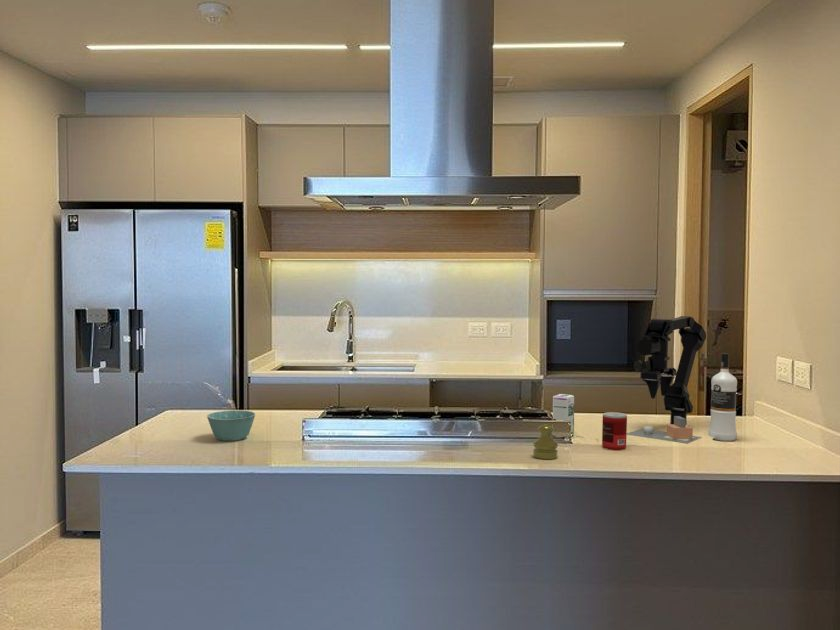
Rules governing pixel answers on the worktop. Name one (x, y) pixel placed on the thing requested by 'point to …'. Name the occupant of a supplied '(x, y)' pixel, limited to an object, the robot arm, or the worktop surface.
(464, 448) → the worktop surface
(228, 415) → the bowl
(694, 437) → the base
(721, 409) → the vodka
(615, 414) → the canned food
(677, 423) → the salmon orange block
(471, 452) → the worktop surface
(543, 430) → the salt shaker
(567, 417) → the syrup box
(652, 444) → the worktop surface
